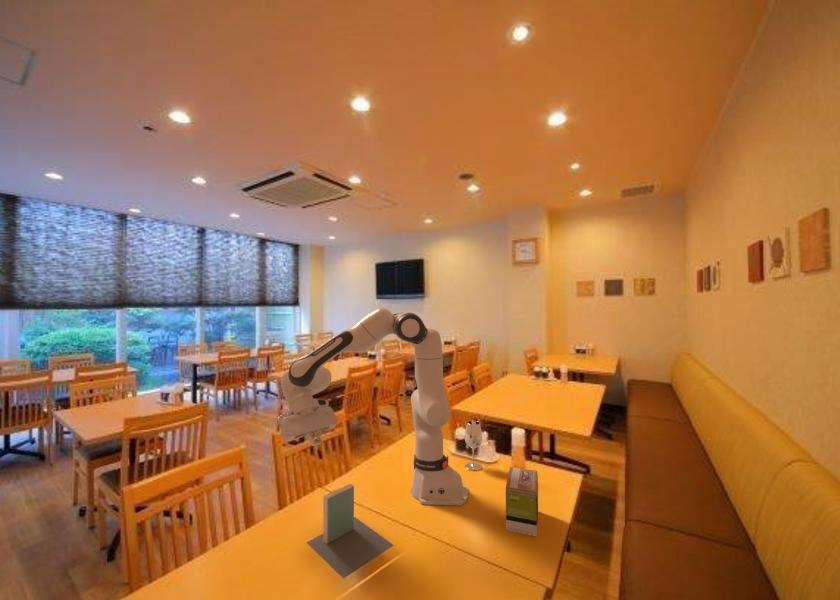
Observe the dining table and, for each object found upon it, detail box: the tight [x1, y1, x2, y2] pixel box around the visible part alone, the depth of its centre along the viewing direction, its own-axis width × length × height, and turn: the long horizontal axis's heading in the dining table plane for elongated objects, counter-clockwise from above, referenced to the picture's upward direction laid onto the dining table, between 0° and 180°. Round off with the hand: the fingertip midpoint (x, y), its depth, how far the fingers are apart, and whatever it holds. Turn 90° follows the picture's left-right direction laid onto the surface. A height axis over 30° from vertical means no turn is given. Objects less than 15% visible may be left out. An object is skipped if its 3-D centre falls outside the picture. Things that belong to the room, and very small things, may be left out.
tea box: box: [505, 466, 539, 537], centre depth 121 cm, size 15×10×15 cm
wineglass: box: [464, 420, 483, 471], centre depth 160 cm, size 8×8×20 cm
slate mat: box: [306, 516, 394, 579], centre depth 108 cm, size 20×18×1 cm
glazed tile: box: [322, 483, 355, 544], centre depth 112 cm, size 2×10×14 cm, turn 136°
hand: (317, 444), depth 122 cm, fingers closed
